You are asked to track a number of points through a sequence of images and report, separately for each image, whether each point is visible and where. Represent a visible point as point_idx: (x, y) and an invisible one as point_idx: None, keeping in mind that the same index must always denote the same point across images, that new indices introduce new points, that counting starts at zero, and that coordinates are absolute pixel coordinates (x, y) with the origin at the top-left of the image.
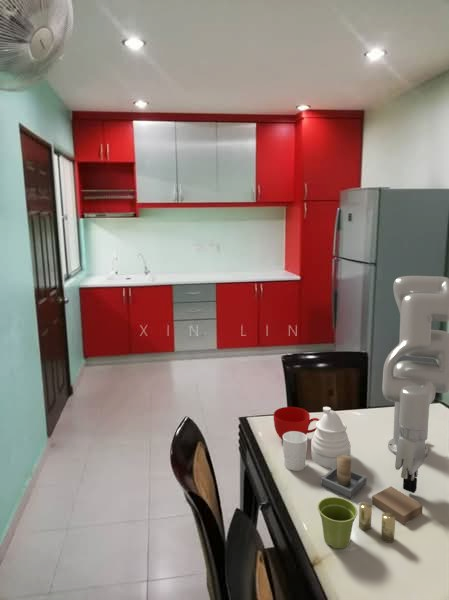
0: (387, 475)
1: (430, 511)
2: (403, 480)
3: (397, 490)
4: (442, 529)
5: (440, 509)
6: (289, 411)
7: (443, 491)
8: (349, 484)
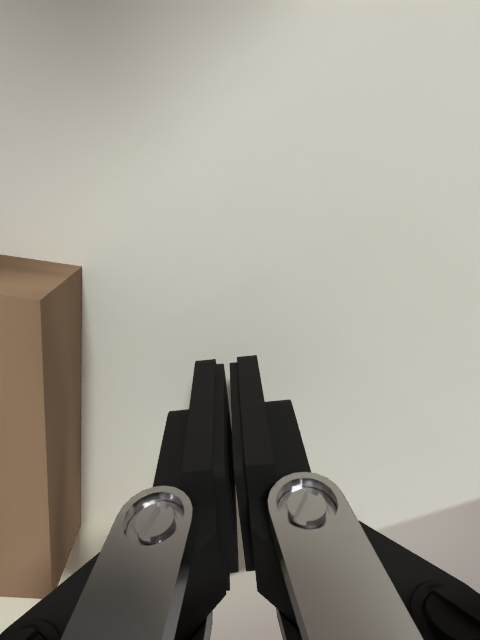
0: (411, 26)
1: None
2: (188, 422)
3: (39, 389)
4: None
5: None
6: None
7: (452, 506)
8: None
